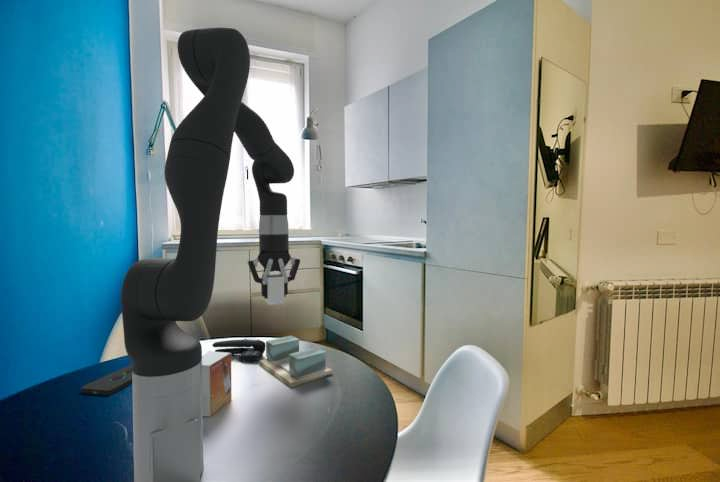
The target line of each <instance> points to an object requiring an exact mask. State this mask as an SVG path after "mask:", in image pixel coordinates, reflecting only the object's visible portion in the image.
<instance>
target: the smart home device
mask: <svg viewBox="0 0 720 482" xmlns="http://www.w3.org/2000/svg"><path fill="white" fill-rule="evenodd" d="M130 385H132V363H131V364H129V365H126V366H125V367H123V368H120V369H118V370H116V371H114V372H112V373H109V374H107V375H105V376H103V377H101V378H98V379H96V380H94V381H92V382H89V383H88V384H85V385H84V386H83V385H82V386H81V388H80V389H81V391H80V393H81V394H90V395H99V396H100V395H101V396H112V395H113V394H115V393H117V392H119V391H120V390H122V389H125V388H126V387H128V386H130Z"/></svg>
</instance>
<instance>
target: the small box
mask: <svg viewBox="0 0 720 482" xmlns="http://www.w3.org/2000/svg"><path fill="white" fill-rule="evenodd" d="M214 351H215V350H214ZM214 351H211V350H210V351H208V352H206V353H205V354H202V404H203V417H208V418H210V417H212V416H213V415H214V414H215V413H216V412H217V411H219V410H220V409H221V408H222V407H223V406H225V405H226V404H227V403H229V402H231V400H232V355H231V353H227V352H214Z"/></svg>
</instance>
